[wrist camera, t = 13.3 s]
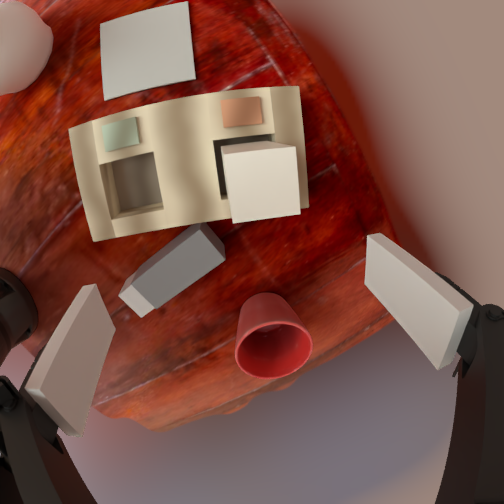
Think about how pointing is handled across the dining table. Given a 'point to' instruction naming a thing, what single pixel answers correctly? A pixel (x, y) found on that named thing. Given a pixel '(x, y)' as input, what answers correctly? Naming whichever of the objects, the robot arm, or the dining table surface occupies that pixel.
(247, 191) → the plug
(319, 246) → the dining table surface
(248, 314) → the flower pot
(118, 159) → the socket box
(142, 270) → the plug
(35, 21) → the vase
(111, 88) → the mat
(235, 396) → the dining table surface
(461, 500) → the robot arm
